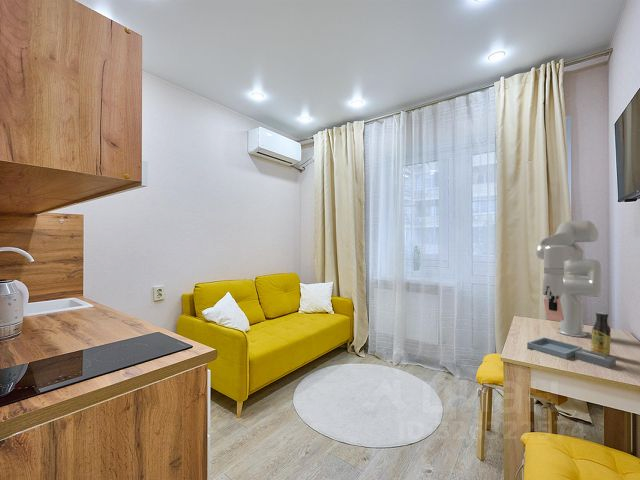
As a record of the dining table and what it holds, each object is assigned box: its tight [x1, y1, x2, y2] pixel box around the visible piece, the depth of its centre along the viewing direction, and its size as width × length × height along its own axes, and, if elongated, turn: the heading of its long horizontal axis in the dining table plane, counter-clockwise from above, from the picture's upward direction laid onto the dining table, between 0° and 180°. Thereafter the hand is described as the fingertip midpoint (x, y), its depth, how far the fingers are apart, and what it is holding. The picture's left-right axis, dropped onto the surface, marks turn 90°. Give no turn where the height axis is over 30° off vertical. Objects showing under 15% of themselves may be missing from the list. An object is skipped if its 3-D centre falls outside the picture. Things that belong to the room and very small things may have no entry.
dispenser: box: [574, 348, 617, 369], centre depth 126 cm, size 7×11×4 cm, turn 28°
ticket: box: [543, 298, 564, 322], centre depth 139 cm, size 2×6×10 cm, turn 28°
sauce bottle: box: [590, 311, 612, 356], centre depth 134 cm, size 6×6×20 cm
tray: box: [526, 336, 583, 360], centre depth 139 cm, size 16×16×3 cm
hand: (553, 309), depth 139 cm, fingers closed on ticket, 1 cm apart
